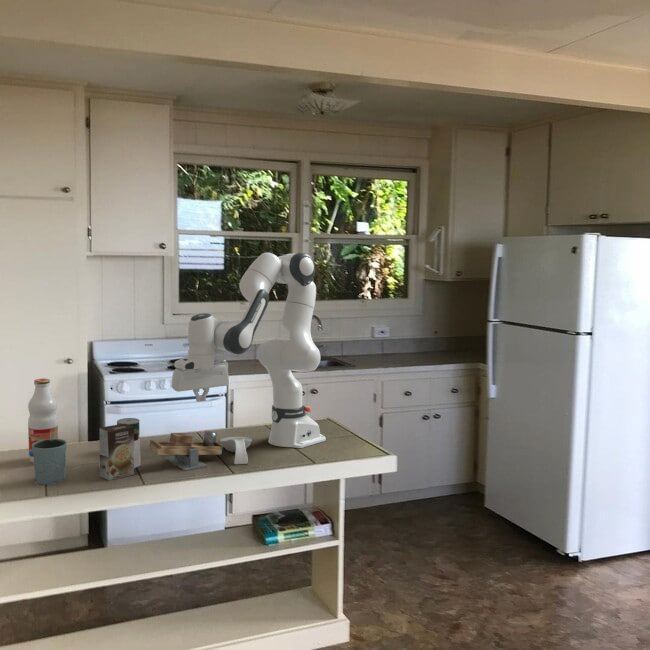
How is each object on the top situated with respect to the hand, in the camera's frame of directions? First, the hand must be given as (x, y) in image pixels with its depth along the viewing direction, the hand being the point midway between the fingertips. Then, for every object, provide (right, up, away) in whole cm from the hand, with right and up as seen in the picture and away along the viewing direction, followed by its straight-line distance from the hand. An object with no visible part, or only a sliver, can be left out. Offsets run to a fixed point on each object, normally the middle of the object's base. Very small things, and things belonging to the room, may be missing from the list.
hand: (201, 401), depth 244 cm
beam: (-5, -16, -1) cm, 17 cm away
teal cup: (-44, -23, -20) cm, 54 cm away
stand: (-5, -21, -1) cm, 22 cm away
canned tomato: (-28, -19, +12) cm, 36 cm away
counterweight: (+2, -16, +4) cm, 17 cm away
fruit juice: (-54, -20, -1) cm, 57 cm away
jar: (-24, -22, -5) cm, 33 cm away
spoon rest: (+11, -21, +11) cm, 26 cm away
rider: (-7, -15, -3) cm, 17 cm away
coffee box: (-25, -23, -14) cm, 36 cm away
